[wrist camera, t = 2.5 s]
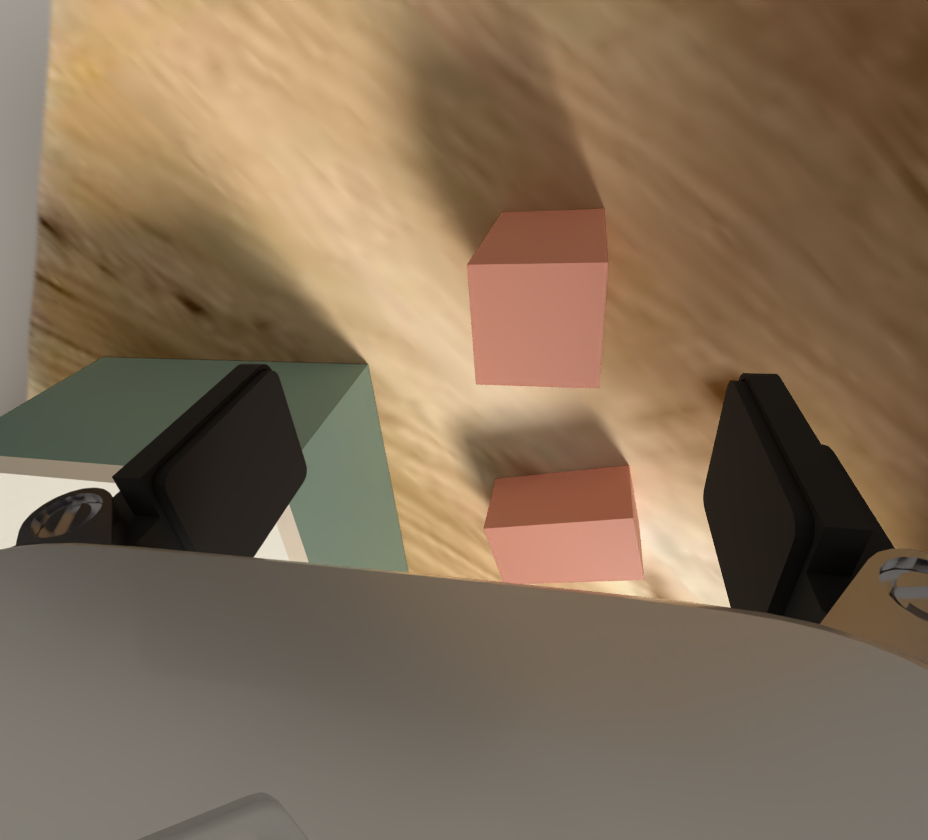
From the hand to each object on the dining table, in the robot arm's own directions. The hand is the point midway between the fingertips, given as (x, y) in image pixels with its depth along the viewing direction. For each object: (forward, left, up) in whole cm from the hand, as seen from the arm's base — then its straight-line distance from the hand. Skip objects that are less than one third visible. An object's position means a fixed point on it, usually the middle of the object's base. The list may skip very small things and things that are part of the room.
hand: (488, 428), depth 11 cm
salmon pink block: (0, 0, -13) cm, 13 cm away
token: (-1, +13, -13) cm, 19 cm away
